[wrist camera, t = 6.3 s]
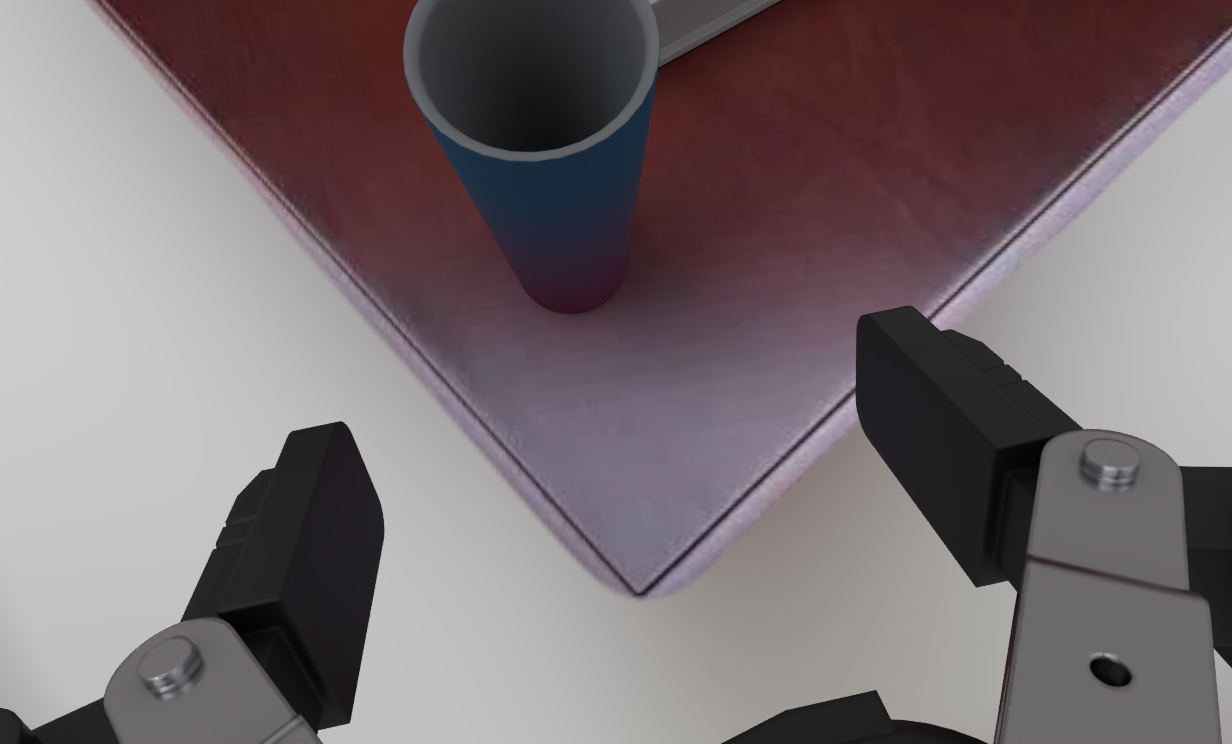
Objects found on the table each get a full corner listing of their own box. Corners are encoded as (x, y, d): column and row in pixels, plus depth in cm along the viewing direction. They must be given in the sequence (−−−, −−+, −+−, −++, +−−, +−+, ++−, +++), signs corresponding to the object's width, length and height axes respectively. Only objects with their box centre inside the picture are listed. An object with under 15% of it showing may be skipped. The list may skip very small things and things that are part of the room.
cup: (575, 363, 27) (536, 212, 15) (465, 267, 28) (348, 54, 16) (676, 255, 28) (713, 33, 16) (566, 165, 29) (526, -105, 17)
